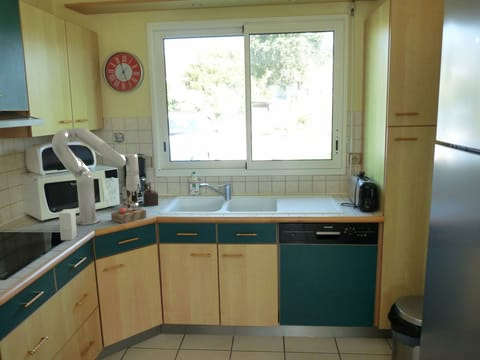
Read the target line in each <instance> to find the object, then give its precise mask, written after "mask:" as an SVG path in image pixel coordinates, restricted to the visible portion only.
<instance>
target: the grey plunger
mask: <svg viewBox="0 0 480 360" xmlns="http://www.w3.org/2000/svg"><path fill="white" fill-rule="evenodd" d="M131 207H133V211H137V209H136V207H138V208H139V202H138V203H131Z"/></svg>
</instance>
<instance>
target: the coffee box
mask: <svg viewBox="0 0 480 360" xmlns="http://www.w3.org/2000/svg"><path fill="white" fill-rule="evenodd" d="M121 194H122V208H126V209H131V208H133V207H131V203H138V204H139V194H138V195H137V200H138V201H135V202H133V201H132V195H131V192H130V191H129V190H127V189H126V185H124V186H121ZM136 208H139V206H138V207H136Z"/></svg>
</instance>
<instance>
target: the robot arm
mask: <svg viewBox="0 0 480 360" xmlns="http://www.w3.org/2000/svg"><path fill="white" fill-rule="evenodd" d="M77 142H80V143H82V144H83V145H84V146H86V147H88V148H89V149H90V150H91V151H93V152H95V153H96V154H97V155H98V156H100V157H102V158H104V160H107V161H108V162H109V163H111V164H112V165H113V166H114V167H117V168H123V167H124V166H125V168H126V169H125V170H126V175H125V177H126V178H125V182H126V183H125V186H126V189H127V190H129V191H130V192H131V195H132V201H133V202H135V201H138V202H139V199H138V200H137V195H138V196H139V194H140V191H141V179H140V170H139V157H138V154H137V153H127V154H125V153H119V152H117V151H116V150H115V149H113V148H112V147H110V145H109V144H108V142H106V141H104V140H103V139H101V138H100V137H99V136H97V135H96V134H94V133H93V131H90V130H89V129H88V128H87V127H75V128H74V127H73V128H61V129H59V130H57V131H56V132H55V134H54V135H53V137H52V140H51V147H52V148H51V149H52V150H53V152H54V154H55V155H56V157H57V159H58V160H59V161H60V162H61V163H62V165H63V166H64V167H65V168H66V170H67V171H68V172H69V173H70V174H72V175H73V177H74V178H75V179H76V187H77V188H76V189H77V200H78V209H79V211H78V213H79V215H78V216H77V217H76V223H77V224H78V225H80V226H91V225H95V224H97V223H99V222H100V219H99V218H97V212H96V211H97V209H96V198H95V185H94V184H95V181H94V176H93V174H92V171H90V169H89V167H87V165H86V164H85V163H84V161H83V159H81V158H80V157H77V155H75V153H74V152H73V151H72V149H71V148H70V147H69V146H68V144H69V143H77Z"/></svg>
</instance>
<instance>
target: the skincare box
mask: <svg viewBox="0 0 480 360" xmlns="http://www.w3.org/2000/svg"><path fill="white" fill-rule="evenodd" d="M76 218H77V215H76V208H67V209H62V210H61V211H60V212H59V213H58V220H59V231H60V241H73V240H74V239H76V237H77V236H78V233H77V232H78V231H77V230H78V229H77V222H76ZM72 239H73V240H72Z"/></svg>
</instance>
